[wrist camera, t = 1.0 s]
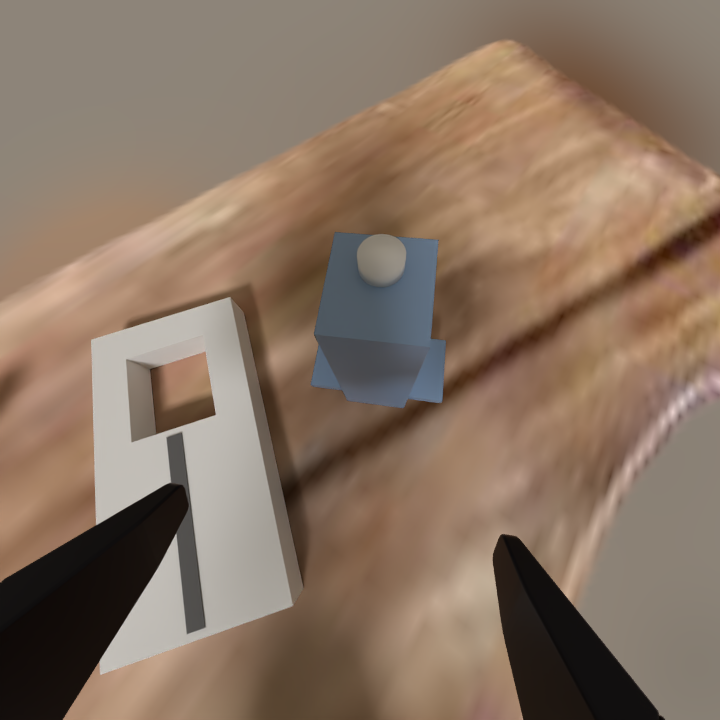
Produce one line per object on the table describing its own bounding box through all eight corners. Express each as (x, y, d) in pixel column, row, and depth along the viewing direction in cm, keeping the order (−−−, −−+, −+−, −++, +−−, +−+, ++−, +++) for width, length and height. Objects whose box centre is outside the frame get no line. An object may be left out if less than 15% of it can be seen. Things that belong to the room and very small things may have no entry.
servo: (433, 412, 22) (503, 345, 10) (318, 397, 23) (247, 318, 11) (437, 353, 24) (503, 229, 11) (329, 341, 25) (277, 213, 12)
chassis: (303, 588, 19) (292, 606, 17) (135, 648, 19) (98, 676, 16) (243, 312, 26) (229, 296, 24) (118, 351, 26) (90, 339, 23)
